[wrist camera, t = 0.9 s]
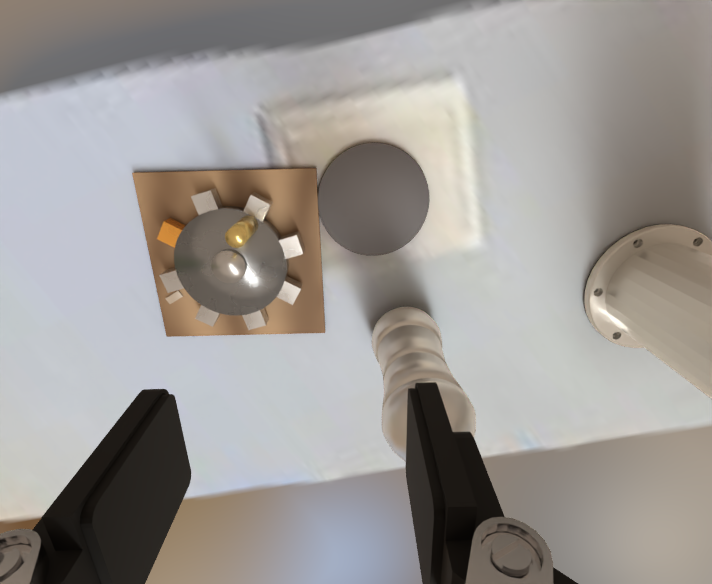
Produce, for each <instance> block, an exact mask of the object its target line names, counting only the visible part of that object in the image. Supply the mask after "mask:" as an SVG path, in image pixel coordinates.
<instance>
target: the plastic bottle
mask: <svg viewBox="0 0 712 584" xmlns="http://www.w3.org/2000/svg"><path fill="white" fill-rule="evenodd" d="M372 348H373V351H374V354H375V356H376V359H377V361H378V362H379V364H380V367H381V371H382V374H383V381H384V382H383V383H384V398H383V408H382V431H383V434H384V437H385V439H386V441H387V442H388V444H389V446H390V447H391V449H392V450H393V451H394V452H395V453H396V454H397V455H398V456H399V457H400V458H402V459H403V460H404V461H405V462H406V437H407V399H408V388H415V384H416V383H427V382H436V383H437V385H438V388H439V391H440V394H441V397H442V400H443V403H444V406H445V409H446V413H447V416H448V419H449V422H450V425H451V428H452V431H453V432H471V433H472V435H473V437H474V435H475V431H476V414H475V410H474V407H473V405H472V404H471V402H470V400H469V398H468V397H467V395H466V393H465V392H464V391H463V389H462V388H461V387H460V385H459V384H458V382H457V381H456V380H455V378H454V377H453V375H452V373H451V372H450V370H449V368H448V366H447V364H446V362H445V359H444V355H443V351H442V338H441V333H440V329H439V327H438V325H437V323H436V322H435V321H434V320H433V319H432V318H431V317H430V316H429V315H428V314H427V313H426V312H424V311H423V310H420V309H418V308H414V307H399V308H395V309H392V310H390V311H388V312H387V313H385V314H384V315H383V316H382V317H381V318H380V319H379V320H378V322H377V323H376V325H375V328H374V331H373V335H372Z"/></svg>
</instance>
